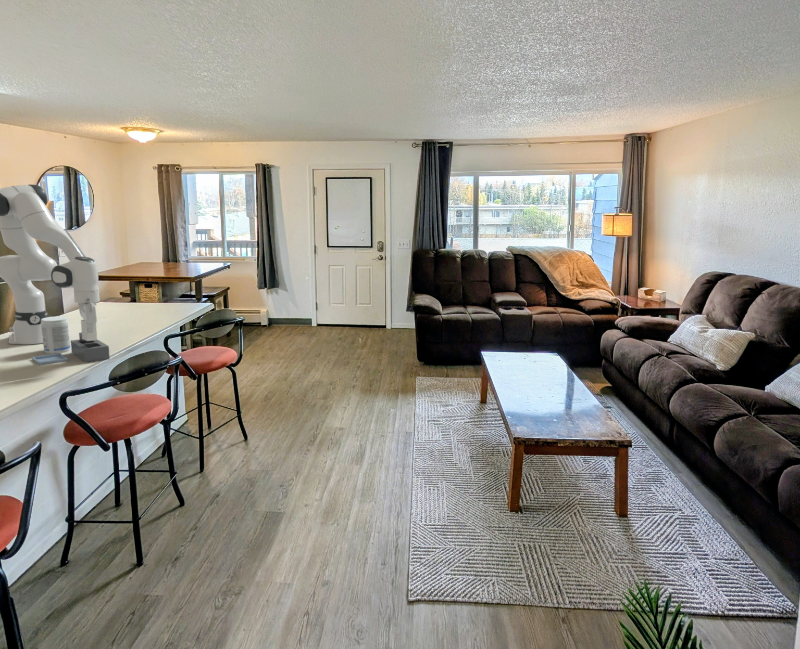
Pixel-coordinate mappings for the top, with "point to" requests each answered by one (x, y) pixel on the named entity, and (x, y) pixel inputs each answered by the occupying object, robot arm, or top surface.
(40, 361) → the slate tray
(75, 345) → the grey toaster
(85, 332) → the white orange-striped block
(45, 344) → the supplement tub
